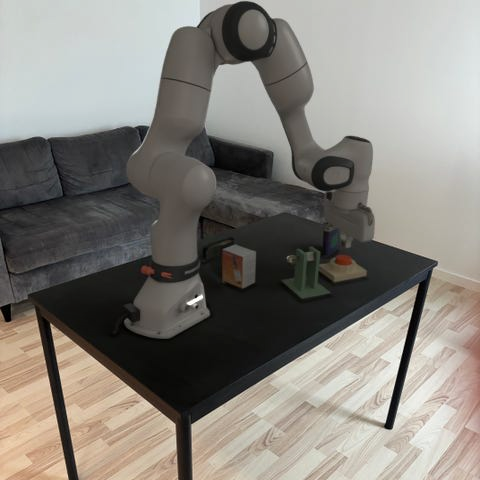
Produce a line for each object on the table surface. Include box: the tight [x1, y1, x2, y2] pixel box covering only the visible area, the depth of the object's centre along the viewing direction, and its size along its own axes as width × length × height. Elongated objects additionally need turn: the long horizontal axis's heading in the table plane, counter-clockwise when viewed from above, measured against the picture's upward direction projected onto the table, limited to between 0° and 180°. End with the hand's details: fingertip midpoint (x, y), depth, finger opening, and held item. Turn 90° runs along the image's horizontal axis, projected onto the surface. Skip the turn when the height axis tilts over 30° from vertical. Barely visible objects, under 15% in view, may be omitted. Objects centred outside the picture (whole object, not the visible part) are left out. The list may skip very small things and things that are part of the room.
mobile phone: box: [202, 236, 235, 264], centre depth 154 cm, size 5×3×15 cm
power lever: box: [285, 251, 314, 267], centre depth 134 cm, size 13×3×3 cm, turn 22°
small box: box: [221, 243, 257, 289], centre depth 134 cm, size 8×6×10 cm
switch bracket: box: [280, 246, 331, 300], centre depth 131 cm, size 12×9×12 cm
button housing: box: [319, 257, 368, 283], centre depth 141 cm, size 11×9×4 cm
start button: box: [335, 254, 352, 266], centre depth 140 cm, size 4×4×2 cm
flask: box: [321, 224, 339, 256], centre depth 155 cm, size 9×3×11 cm, turn 147°
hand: (345, 246), depth 138 cm, fingers closed
